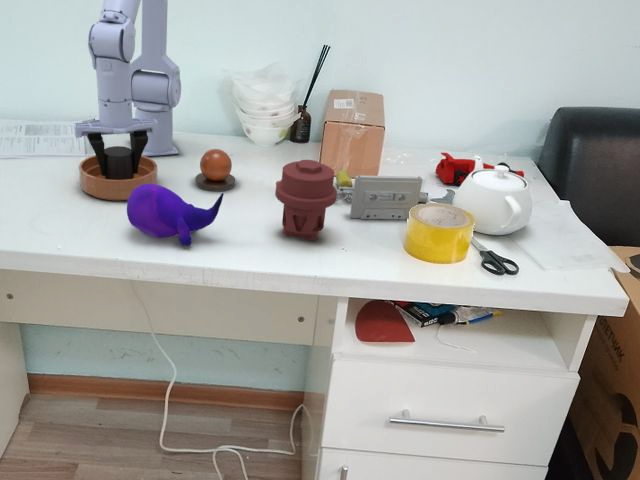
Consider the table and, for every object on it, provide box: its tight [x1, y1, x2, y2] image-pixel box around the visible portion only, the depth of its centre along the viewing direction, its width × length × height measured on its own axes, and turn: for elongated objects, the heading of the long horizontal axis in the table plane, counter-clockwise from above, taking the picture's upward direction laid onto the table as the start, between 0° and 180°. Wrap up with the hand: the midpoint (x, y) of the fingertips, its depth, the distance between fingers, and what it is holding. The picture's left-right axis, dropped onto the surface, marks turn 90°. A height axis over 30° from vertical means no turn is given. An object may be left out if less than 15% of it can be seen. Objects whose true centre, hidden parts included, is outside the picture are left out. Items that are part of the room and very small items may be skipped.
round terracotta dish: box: [78, 154, 159, 202], centre depth 132 cm, size 14×14×4 cm
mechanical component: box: [275, 159, 338, 242], centre depth 118 cm, size 12×10×10 cm
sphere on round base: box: [194, 148, 236, 192], centre depth 136 cm, size 8×8×7 cm
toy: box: [126, 184, 225, 247], centre depth 116 cm, size 9×10×15 cm
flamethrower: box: [275, 169, 429, 203], centre depth 137 cm, size 29×3×10 cm
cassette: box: [349, 175, 424, 220], centre depth 127 cm, size 12×2×8 cm, turn 96°
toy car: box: [434, 152, 525, 187], centre depth 146 cm, size 6×18×5 cm, turn 99°
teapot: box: [451, 155, 533, 236], centre depth 127 cm, size 22×14×11 cm, turn 5°
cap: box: [104, 145, 134, 180], centre depth 131 cm, size 5×5×5 cm
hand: (118, 172), depth 132 cm, fingers closed on cap, 5 cm apart
